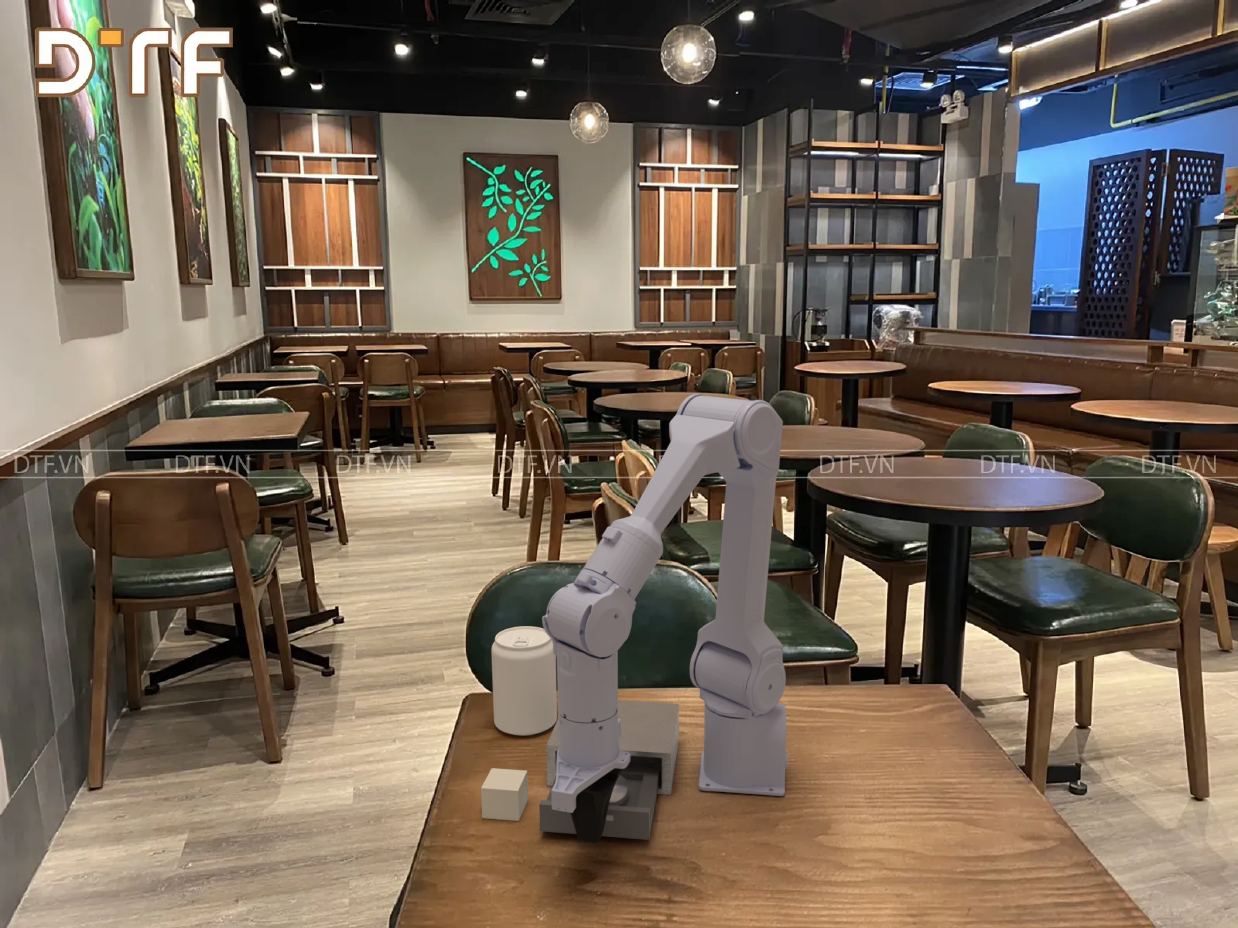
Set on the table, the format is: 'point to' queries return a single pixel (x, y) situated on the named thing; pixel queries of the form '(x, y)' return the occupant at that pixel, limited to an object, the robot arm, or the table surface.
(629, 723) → the box
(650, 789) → the tray
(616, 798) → the disc
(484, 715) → the table surface
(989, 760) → the table surface
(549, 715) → the beverage can
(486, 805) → the riser block
